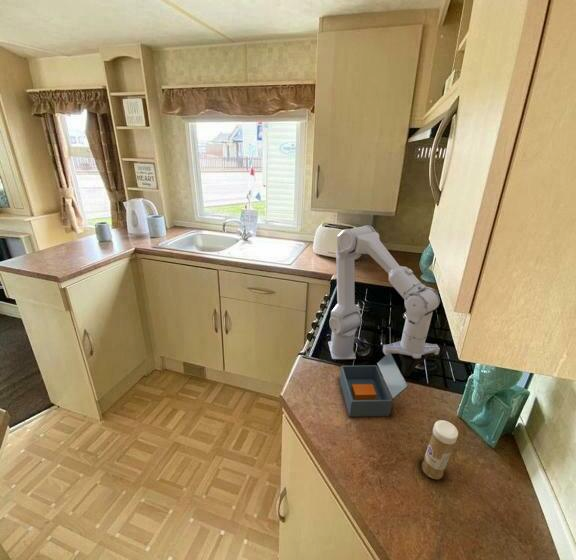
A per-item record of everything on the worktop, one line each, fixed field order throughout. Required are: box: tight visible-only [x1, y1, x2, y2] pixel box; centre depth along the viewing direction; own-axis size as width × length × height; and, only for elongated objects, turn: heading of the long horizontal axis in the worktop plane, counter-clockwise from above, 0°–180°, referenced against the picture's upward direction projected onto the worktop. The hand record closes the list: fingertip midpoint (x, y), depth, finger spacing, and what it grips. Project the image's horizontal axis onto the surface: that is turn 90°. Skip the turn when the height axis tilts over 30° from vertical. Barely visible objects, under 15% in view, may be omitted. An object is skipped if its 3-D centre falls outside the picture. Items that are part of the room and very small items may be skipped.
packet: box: [351, 384, 377, 400], centre depth 89 cm, size 6×4×2 cm, turn 93°
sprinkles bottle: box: [421, 419, 459, 480], centre depth 67 cm, size 5×5×14 cm
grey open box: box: [339, 364, 394, 418], centre depth 88 cm, size 14×11×5 cm
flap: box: [376, 353, 409, 400], centre depth 86 cm, size 14×5×1 cm
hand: (405, 373), depth 87 cm, fingers closed
